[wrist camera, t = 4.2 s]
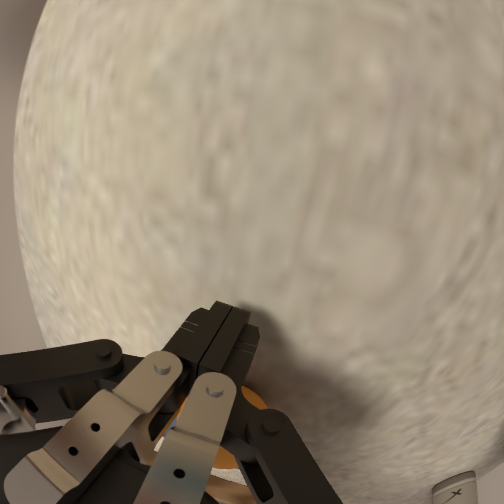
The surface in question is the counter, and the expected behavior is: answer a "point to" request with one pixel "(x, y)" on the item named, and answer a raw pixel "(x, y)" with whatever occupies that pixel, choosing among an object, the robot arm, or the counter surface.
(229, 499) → the wall
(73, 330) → the counter surface
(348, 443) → the counter surface
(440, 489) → the travel mug
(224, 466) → the ball
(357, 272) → the counter surface
